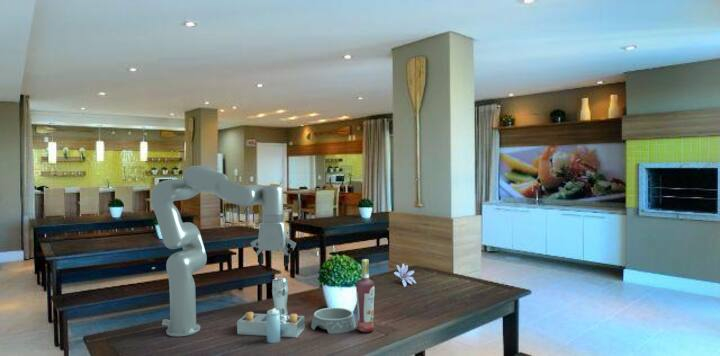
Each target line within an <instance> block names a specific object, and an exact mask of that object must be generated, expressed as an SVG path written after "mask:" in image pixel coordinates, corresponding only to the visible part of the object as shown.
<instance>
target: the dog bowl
mask: <svg viewBox="0 0 720 356" xmlns="http://www.w3.org/2000/svg"><path fill="white" fill-rule="evenodd" d="M317 327H319V329H322V330H327V333H328V334H329V335H331V334H343V333H347V332H350V331H353V330H355V328H357V323H356V319H355V315H354V312H353V311H352V310H350V309H348V308H345V307H344V308H343V307H324V308H320V309H318V310H316V311H315V312H314V313H313V316H312V321H311V324H310V328H311V329H312V330H313V331H315V330H316V328H317Z"/></svg>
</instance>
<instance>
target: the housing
mask: <svg viewBox="0 0 720 356" xmlns="http://www.w3.org/2000/svg"><path fill="white" fill-rule="evenodd" d="M266 314H267V313H254V312H253V319H252V320H251V321H250V320H246V314H244V315H243V316H242V317H241V318H240V319H238V320H237V321H236V329H237V333H236V334H237V335H246V336H264V337H265V336H266V337H267V322H266ZM289 315H290V314H286V315H280V338H299V335H301V333H302V332H303V331H304V330H305V325H306V324H305V323H306V322H305V315H297V322H296V323H290V318H289Z"/></svg>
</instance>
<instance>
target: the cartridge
mask: <svg viewBox="0 0 720 356" xmlns="http://www.w3.org/2000/svg"><path fill="white" fill-rule="evenodd" d="M265 314H266V322H267V336H266V342H267V343H269V344H276V343H279V342H281V337H280V313H279V310H276V308H274V307H273V308H272V309H269V310H267V311H266V313H265Z"/></svg>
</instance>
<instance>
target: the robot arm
mask: <svg viewBox="0 0 720 356" xmlns="http://www.w3.org/2000/svg"><path fill="white" fill-rule="evenodd" d="M283 190H284V189H283V186H281V185H265V184H264V185H262V184H250V185H249V184H248V185H244V184H239V183H236V182H233V181H230V180H229V177H228V176H227V175H226V174H225V173H222V172H219V171H216V169H214V168H213V167H212V166H210V165H190V166H188V167H187V168H186V169H185V170H184V171H183V174H182V178H176V179H175V178H174V179H165V180H162V181H160V182H157V184H155V185H154V186H153V188H152V190H151V193H150V203H151V204H150V205H151V208H152V209H153V212H154V214H155V217H156V220H157V224H158V228H159V231H160V234H161V235H160V236H161V238H162V242H163V245H164V246H165V247H166V248H167V249H170V250H176V249H180V248H182V250H180V251H177V252H175V253H173V254H171V255H170V256H169V257H168V259H167V260H166V264H165V267H166V268H165V269H166V272H167V277H168V278H167V279H168V286H169V289H168V290H169V318H170V319H167V318H164V319H162V322H161V326H162V327H167V328H166V330H165V331H166V335H167V336H169V337H175V338H176V337H178V338H180V337H186V336H192V335H194V334H196V333H198V332H200V330H201V325H200V324H199V323H197V309H196V308H197V305H196V303H197V302H196V296H197V295H196V283H195V279H194V277H193V274H192V273H196V272H198V271H201V270H202V269H203V268H204V267H205V266H206V265H207V260H208V259H207V258H208V257H207V253H206V252H207V251H206V249H205V245H204V242H203V238H202V235H201V232H200V230H199V228H198V227H197V225H195V224H194V223H193V222H187V221H186V222H183V220H182V217H181V214H180V211H179V210H178V209H179V208H177V206H176V205H175V204H174V202H176V201H184V200H190V199H191V198H193V197H195V196H197V195H199V194H200V193H202V192H204V193H205V192H206V193H208V194H212V195H215V196H217V197H218V198H219V199H221V200H223V201H224V202H227V203H229V204H233V205H236V206H240V207H250V206H251V207H252V206H257V205H262V209H261V210H262V214H261V215H258V219H259V220H261V222H260V223H259V229H258V238H257V239H254V240H253V241H251V242H250V246H251V248H252V250H253V251H254V252H255V254H256V256H257V263H258V266H262V265H263V264H264V253H263V252H264V251H276V252H277V251H278V252H279V251H282V253H283V254H284V255H283V266H284V267H287V266H288V265H289V264H290V254H291V253H292V252H293V251H294V249H295V248H296V246H297V242H295V241H293V240H292V239H290V238H288V233H287V231H288V230H287V227H286V222H284V194H283V193H284V191H283ZM288 244H289V245H290V247H289V248H288Z"/></svg>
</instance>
